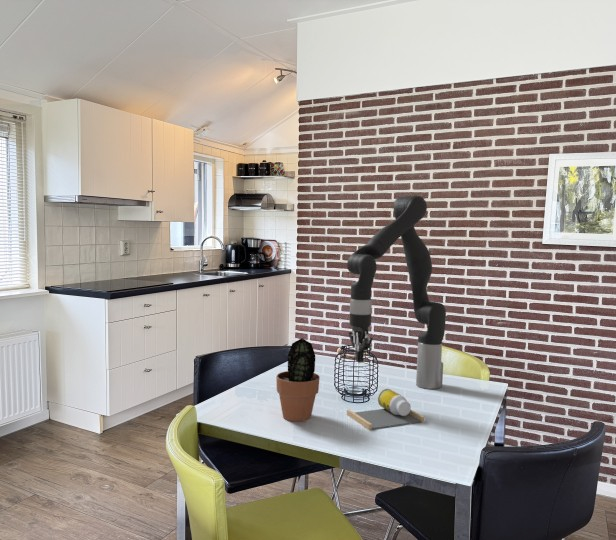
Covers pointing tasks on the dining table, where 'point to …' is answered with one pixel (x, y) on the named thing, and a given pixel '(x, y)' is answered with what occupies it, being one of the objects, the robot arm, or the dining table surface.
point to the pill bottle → (394, 402)
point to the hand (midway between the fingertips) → (359, 361)
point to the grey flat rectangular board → (384, 418)
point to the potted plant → (298, 382)
